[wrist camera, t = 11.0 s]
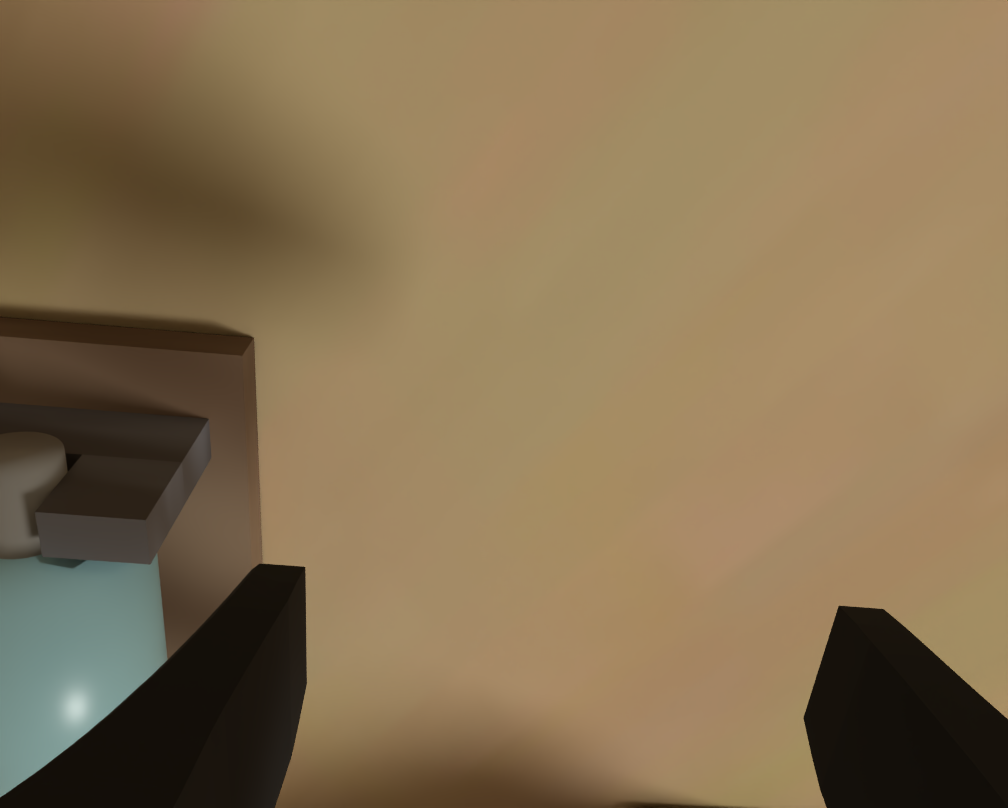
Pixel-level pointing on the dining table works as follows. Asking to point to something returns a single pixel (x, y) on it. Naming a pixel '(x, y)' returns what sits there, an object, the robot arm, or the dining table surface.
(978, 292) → the dining table surface
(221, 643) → the robot arm
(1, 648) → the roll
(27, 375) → the holder
